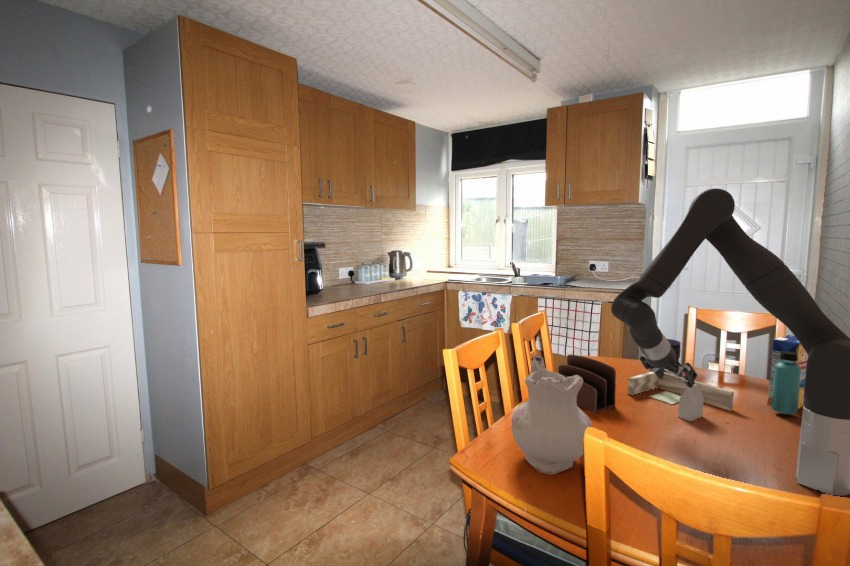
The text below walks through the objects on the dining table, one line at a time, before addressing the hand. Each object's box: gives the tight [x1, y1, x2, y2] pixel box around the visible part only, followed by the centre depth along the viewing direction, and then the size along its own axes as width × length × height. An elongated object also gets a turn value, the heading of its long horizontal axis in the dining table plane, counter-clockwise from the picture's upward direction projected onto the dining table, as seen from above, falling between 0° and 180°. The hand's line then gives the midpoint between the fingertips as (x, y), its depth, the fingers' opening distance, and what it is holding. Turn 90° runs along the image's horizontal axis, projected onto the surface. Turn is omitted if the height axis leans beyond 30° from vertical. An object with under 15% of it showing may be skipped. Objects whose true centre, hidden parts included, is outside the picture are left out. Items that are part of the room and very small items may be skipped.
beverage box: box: [766, 334, 808, 409], centre depth 141 cm, size 7×11×22 cm, turn 120°
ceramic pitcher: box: [511, 353, 593, 476], centre depth 108 cm, size 22×20×25 cm
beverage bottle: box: [770, 351, 801, 415], centre depth 133 cm, size 6×7×20 cm
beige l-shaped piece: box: [627, 371, 735, 412], centre depth 145 cm, size 17×25×6 cm, turn 30°
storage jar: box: [649, 338, 682, 374], centre depth 166 cm, size 10×10×15 cm
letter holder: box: [557, 354, 617, 414], centre depth 146 cm, size 10×20×14 cm, turn 31°
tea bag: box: [677, 384, 704, 422], centre depth 133 cm, size 4×7×10 cm, turn 122°
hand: (676, 380), depth 127 cm, fingers open, 8 cm apart
